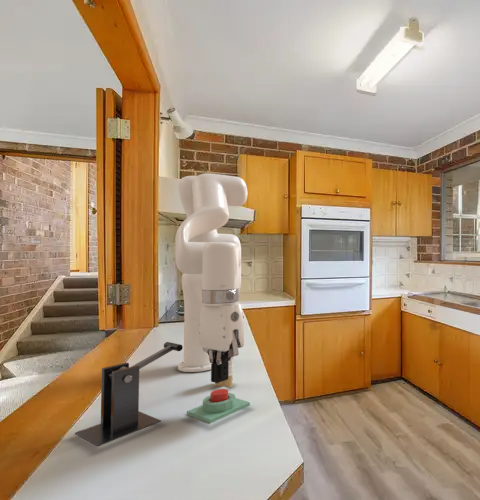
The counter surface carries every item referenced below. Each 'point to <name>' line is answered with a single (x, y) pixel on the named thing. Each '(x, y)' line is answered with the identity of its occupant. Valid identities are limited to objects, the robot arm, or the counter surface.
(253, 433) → the counter surface
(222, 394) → the button
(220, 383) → the sprinkles bottle
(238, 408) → the control block
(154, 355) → the lever handle
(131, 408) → the lever bracket
